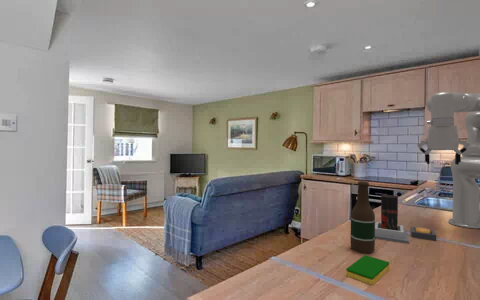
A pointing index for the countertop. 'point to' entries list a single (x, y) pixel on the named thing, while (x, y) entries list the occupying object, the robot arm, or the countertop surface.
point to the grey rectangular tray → (391, 234)
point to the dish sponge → (367, 269)
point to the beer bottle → (363, 222)
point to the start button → (422, 230)
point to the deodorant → (389, 212)
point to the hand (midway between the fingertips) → (442, 164)
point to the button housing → (423, 234)
